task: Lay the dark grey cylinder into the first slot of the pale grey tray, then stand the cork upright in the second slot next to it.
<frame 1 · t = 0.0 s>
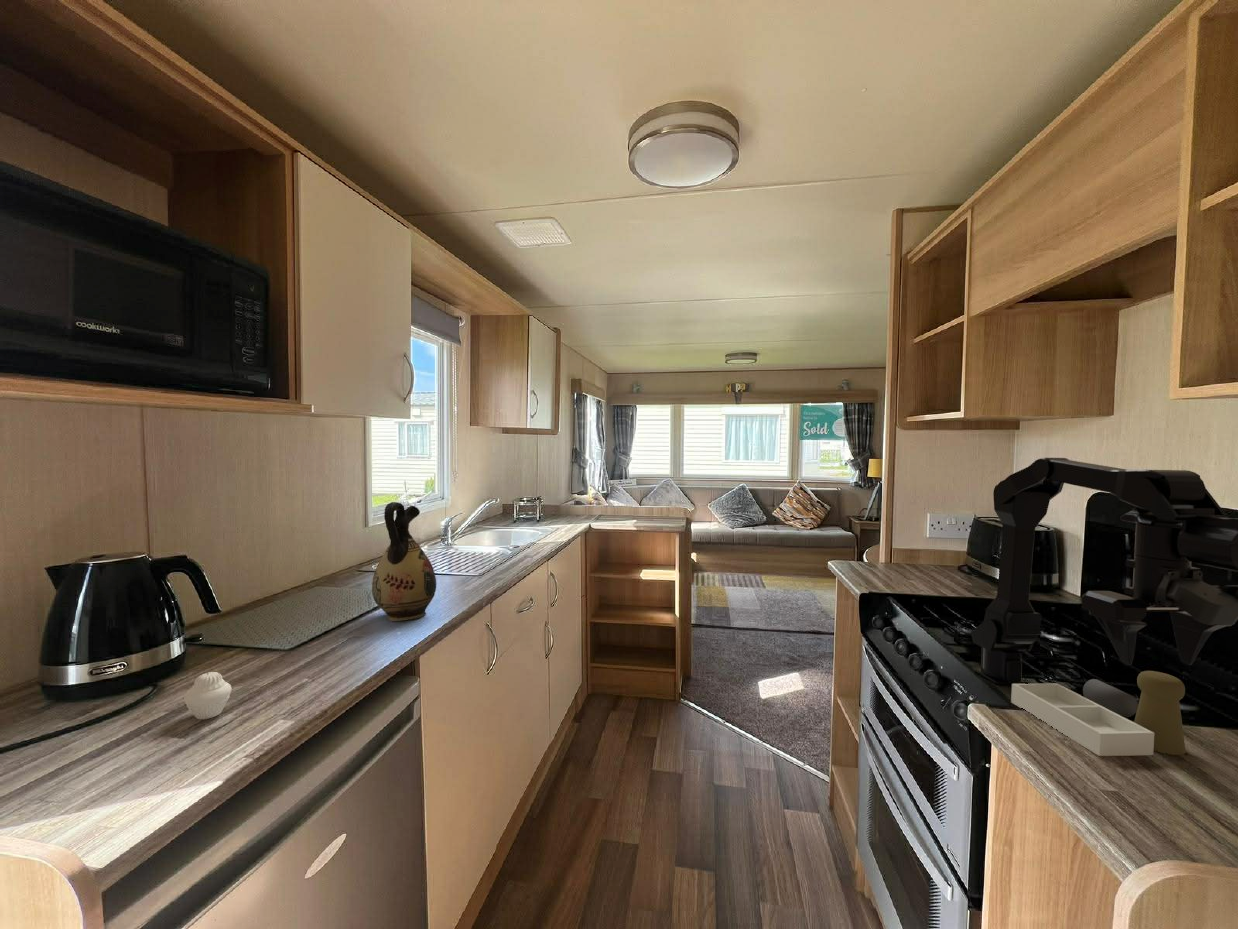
hand: (1156, 664, 76), 15 cm above the counter, tool pointing down, fingers open, 9 cm apart
cork: (1157, 745, 82), on the counter
dark grey cylinder: (1109, 697, 93), point 2 cm above the counter
slot tray: (1075, 726, 86), on the counter
muffin: (208, 715, 86), on the counter
ceramic jug: (402, 617, 135), on the counter
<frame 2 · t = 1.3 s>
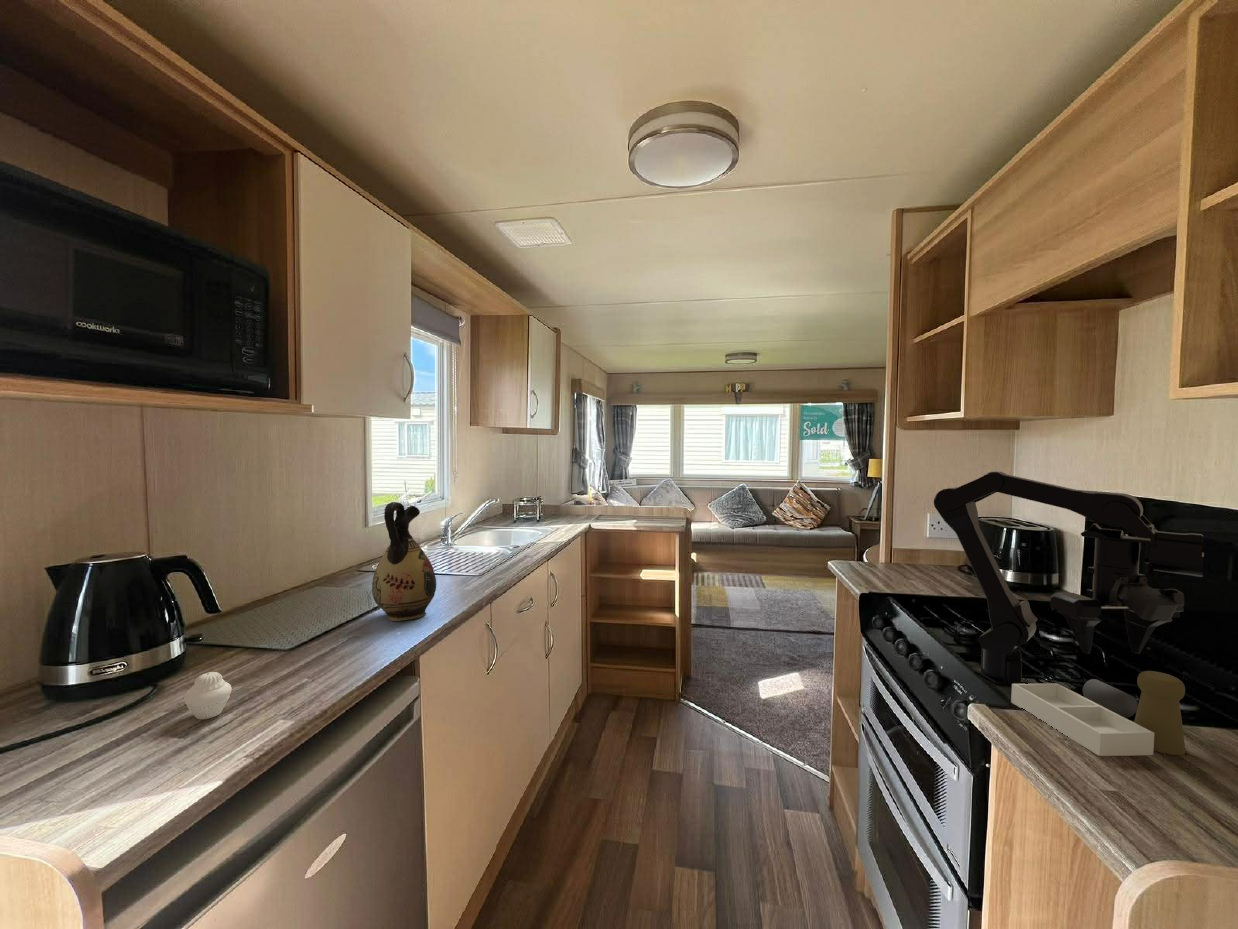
hand: (1110, 653, 93), 10 cm above the counter, tool pointing down, fingers open, 9 cm apart
nothing on the counter moved.
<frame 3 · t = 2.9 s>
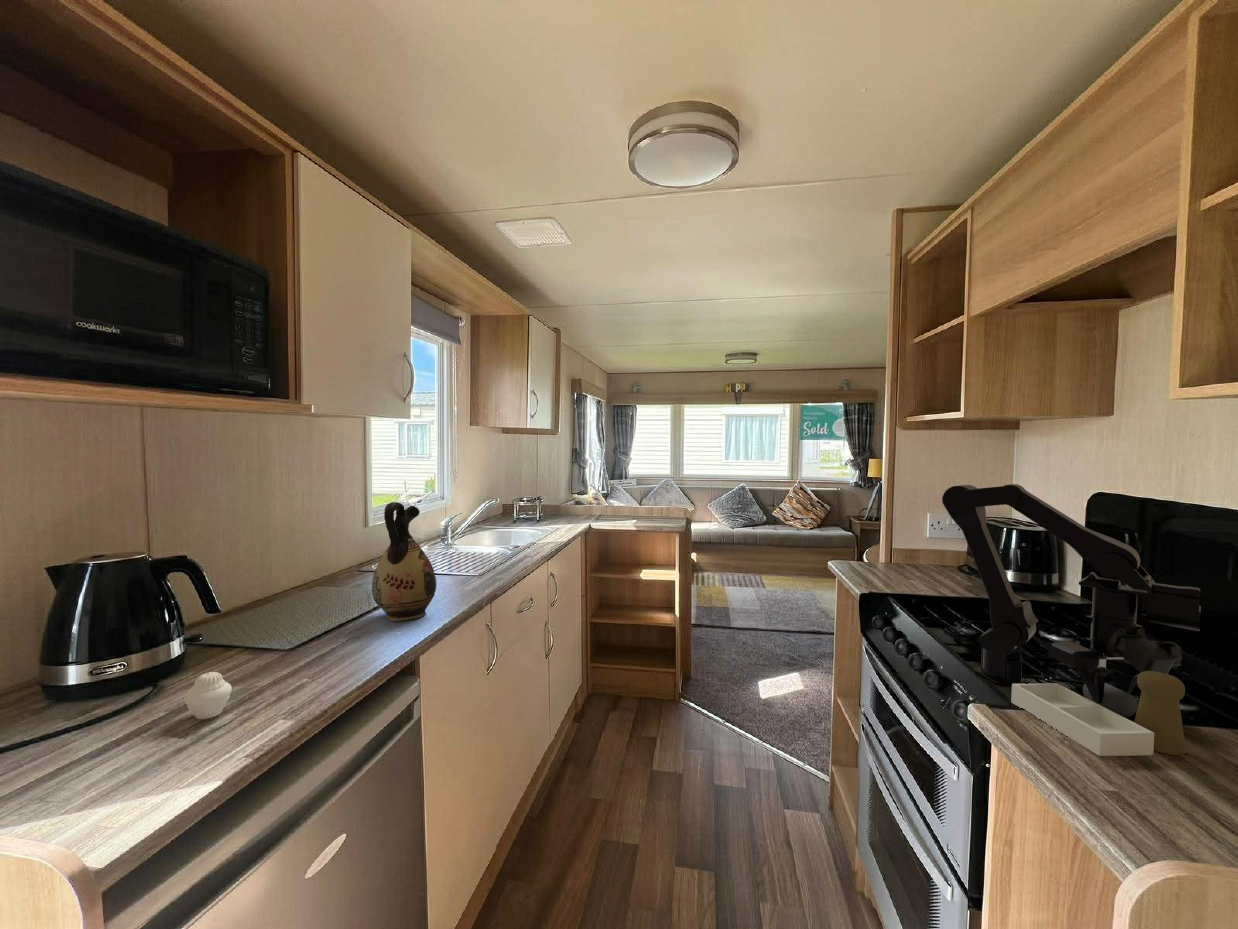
hand: (1109, 702, 93), 1 cm above the counter, tool pointing down, fingers closed on dark grey cylinder, 4 cm apart
dark grey cylinder: (1109, 697, 93), point 2 cm above the counter, touching gripper
everything else where it was.
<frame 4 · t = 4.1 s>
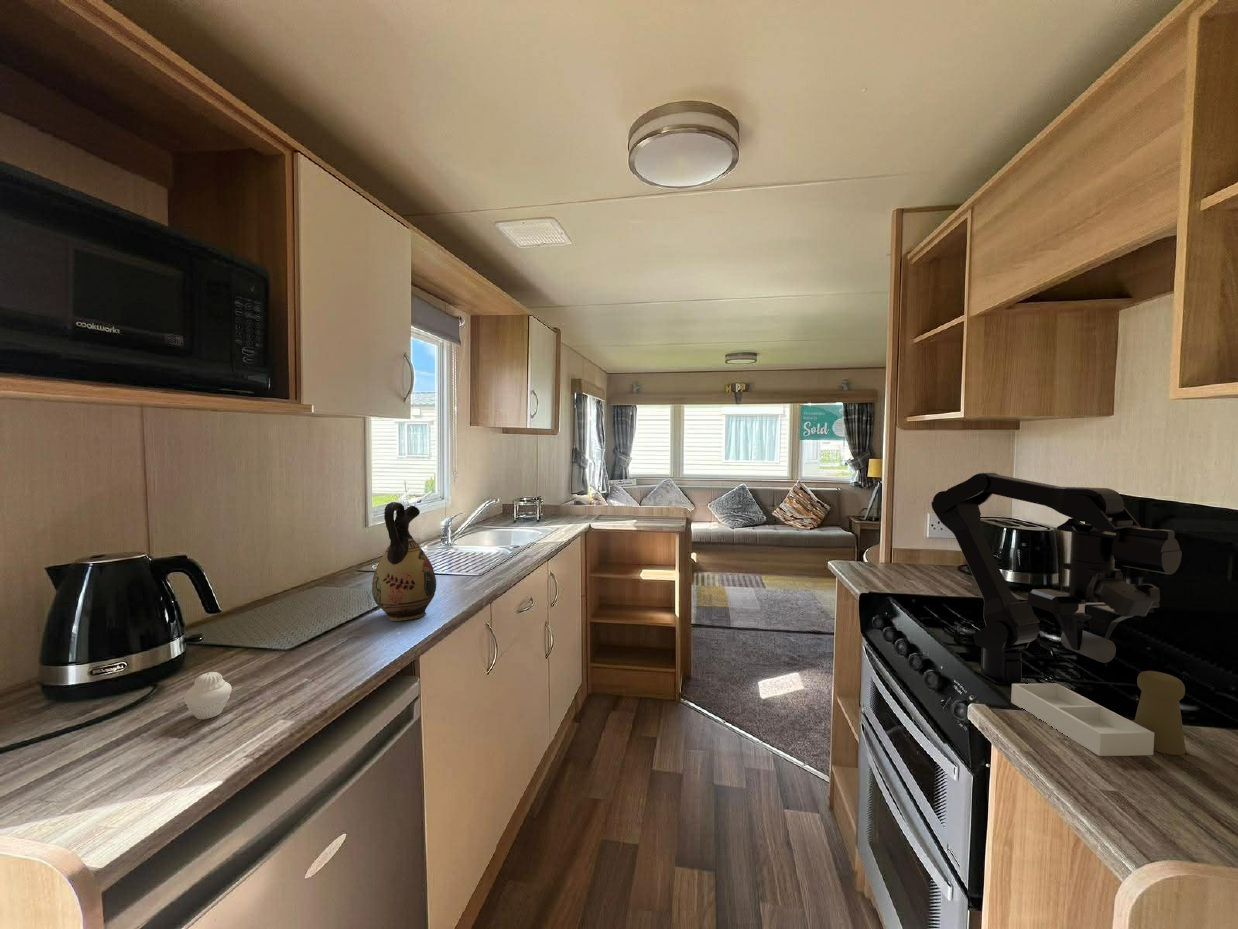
hand: (1086, 649, 91), 11 cm above the counter, tool pointing down, fingers closed on dark grey cylinder, 4 cm apart
dark grey cylinder: (1087, 644, 91), point 12 cm above the counter, touching gripper
everything else where it was.
when the fingers open (4 cm above the counter, at t = 5.8 s): dark grey cylinder drops 2 cm, resting on slot tray.
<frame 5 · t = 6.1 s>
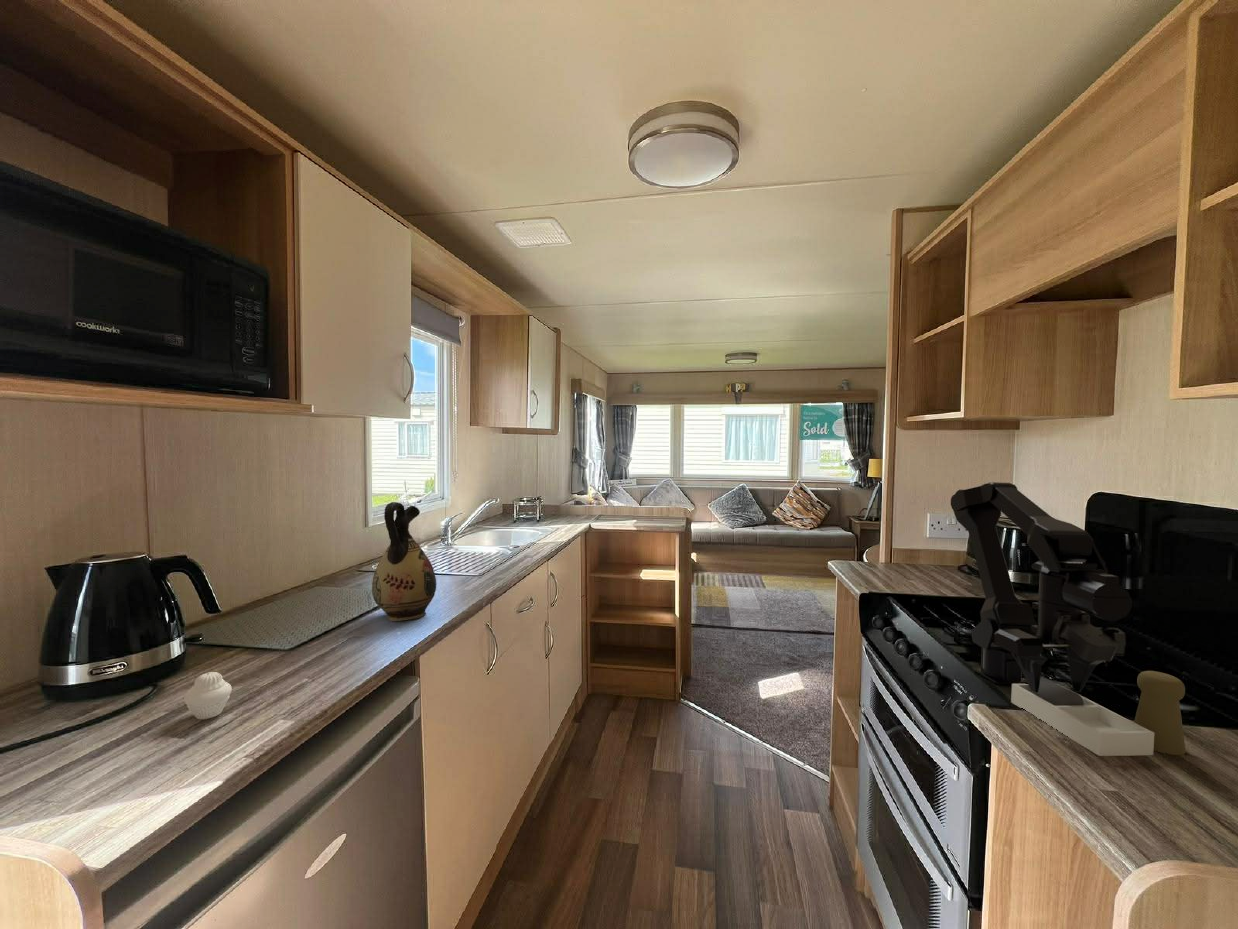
hand: (1055, 691, 90), 4 cm above the counter, tool pointing down, fingers open, 7 cm apart
dark grey cylinder: (1056, 696, 90), point 3 cm above the counter, touching slot tray
everything else where it was.
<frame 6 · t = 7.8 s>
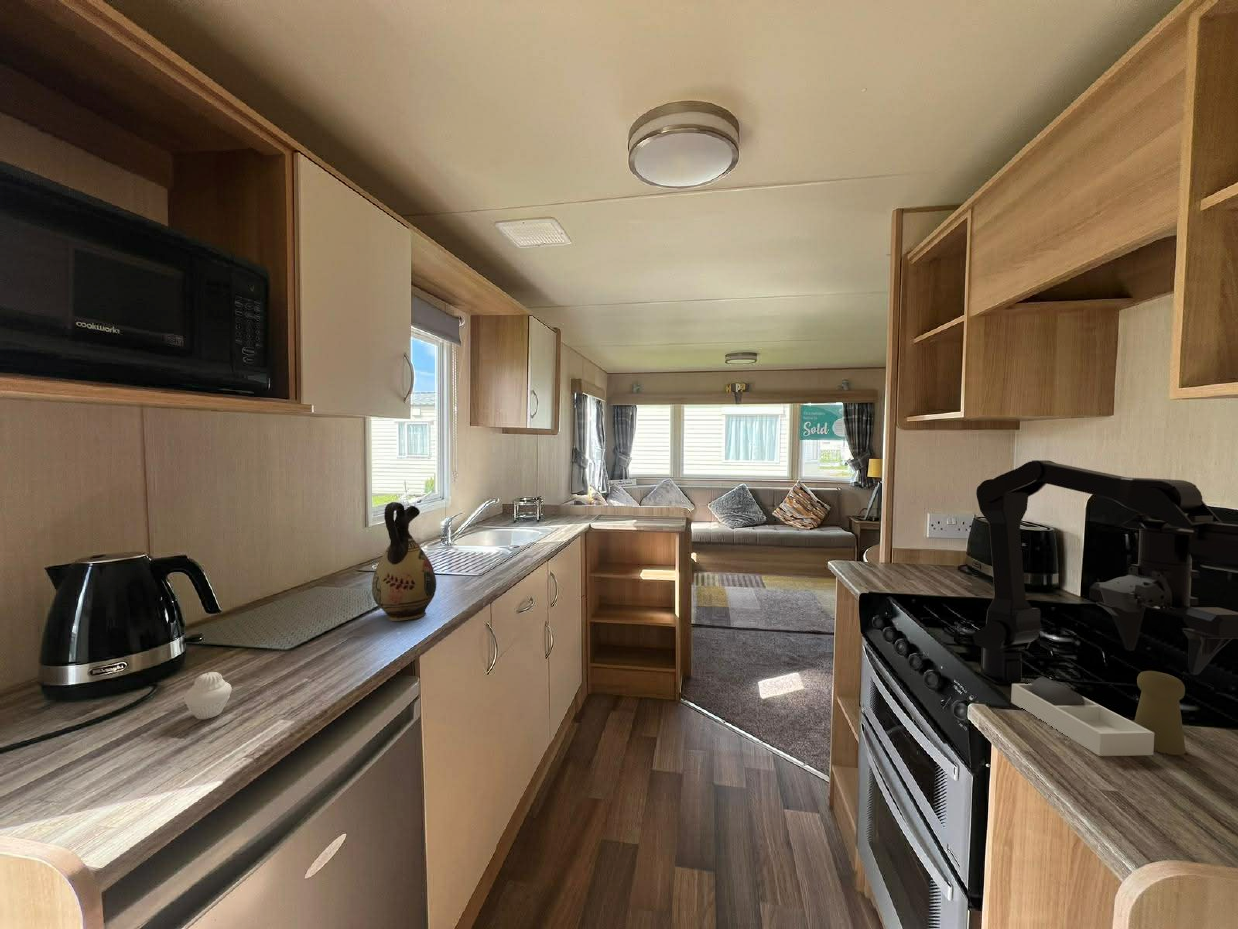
hand: (1160, 661, 81), 13 cm above the counter, tool pointing down, fingers open, 9 cm apart
dark grey cylinder: (1057, 696, 90), point 3 cm above the counter, tilted 6°, touching slot tray
everything else where it was.
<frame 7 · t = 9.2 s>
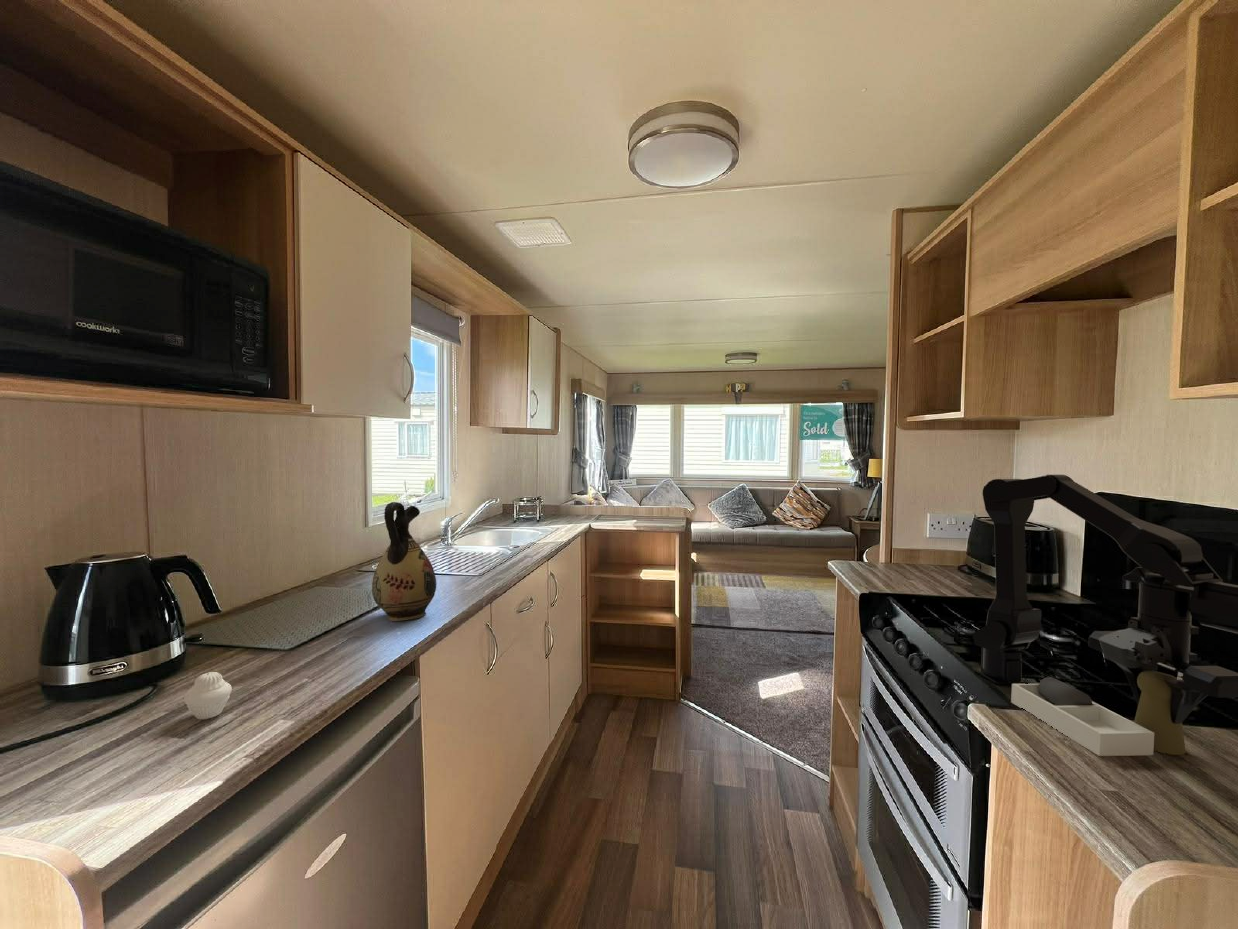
hand: (1158, 715, 82), 5 cm above the counter, tool pointing down, fingers closed on cork, 4 cm apart
cork: (1157, 745, 82), on the counter, touching gripper
dark grey cylinder: (1064, 696, 90), point 3 cm above the counter, tilted 43°, touching slot tray
everything else where it was.
when the fingers open (7 cm above the counter, at t = 12.1 s): cork drops 1 cm, resting on slot tray.
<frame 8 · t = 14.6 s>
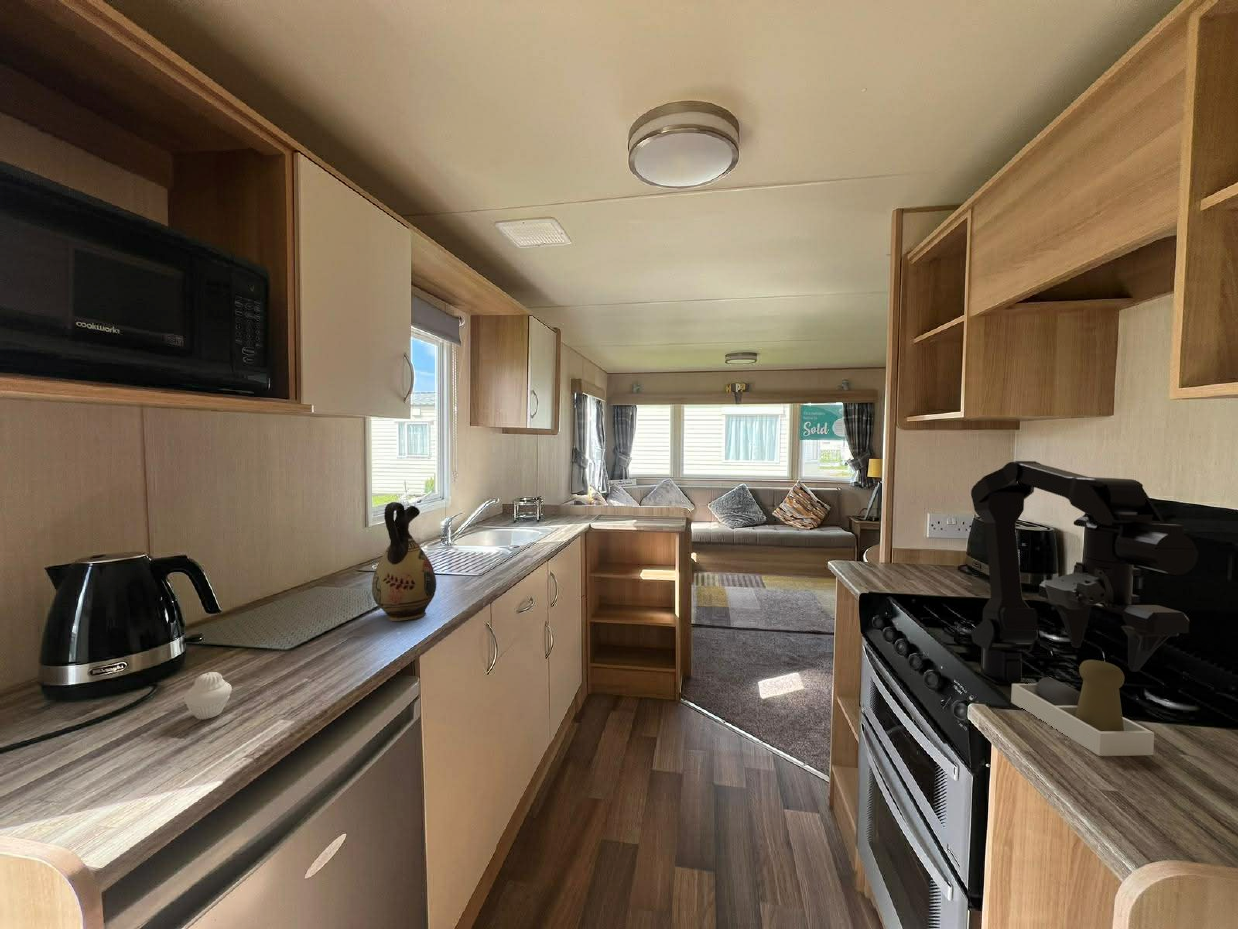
hand: (1103, 658, 82), 13 cm above the counter, tool pointing down, fingers open, 9 cm apart
cork: (1098, 733, 83), point 1 cm above the counter, touching slot tray
dark grey cylinder: (1062, 696, 90), point 3 cm above the counter, tilted 31°, touching slot tray
everything else where it was.
at the end: cork 0.1 cm from the target spot on the slot tray, point 1.0 cm above the slot tray's base; cork tilted 0°; dark grey cylinder 1.3 cm from the target spot on the slot tray, point 3.2 cm above the slot tray's base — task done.
